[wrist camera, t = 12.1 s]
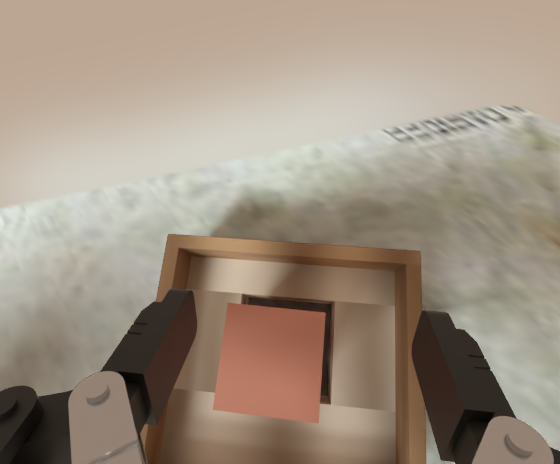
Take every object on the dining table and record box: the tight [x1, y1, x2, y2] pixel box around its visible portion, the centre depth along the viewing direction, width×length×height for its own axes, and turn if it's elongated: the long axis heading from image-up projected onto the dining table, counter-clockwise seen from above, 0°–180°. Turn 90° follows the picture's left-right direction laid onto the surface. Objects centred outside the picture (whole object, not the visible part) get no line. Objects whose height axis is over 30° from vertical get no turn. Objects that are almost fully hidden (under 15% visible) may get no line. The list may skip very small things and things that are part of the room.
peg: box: [213, 303, 326, 424], centre depth 18 cm, size 4×4×11 cm
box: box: [140, 234, 426, 464], centre depth 21 cm, size 15×14×6 cm
